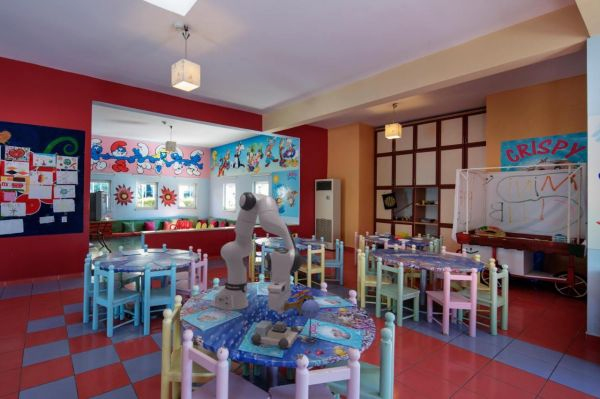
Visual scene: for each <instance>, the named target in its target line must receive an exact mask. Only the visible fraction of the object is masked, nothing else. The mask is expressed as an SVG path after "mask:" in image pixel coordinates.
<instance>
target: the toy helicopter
mask: <svg viewBox="0 0 600 399" xmlns="http://www.w3.org/2000/svg"><path fill="white" fill-rule="evenodd" d="M310 291H311V289H310V288H308V289H305V290H300V291H298V293H296V294H294V295H291V296H292V297H291V298H293V299H294V298H297V297H299V298H298V299H297V300H296V301H292V302H288V301H286V302H285V303H284V308H283V312H288V311H289V310H290V309H291V310H292V309H297V313H298V314H299V316H300V315H301V316H302V315H303V313H302V310H301V308H302V305H303V303H304V302H305V301H307V300H314V301H315V297H314V296H313V295H311V294H309V293H308V292H310Z"/></svg>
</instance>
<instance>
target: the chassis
mask: <svg viewBox="0 0 600 399" xmlns="http://www.w3.org/2000/svg"><path fill="white" fill-rule="evenodd" d="M273 325H274V324H273V322H272V321H271V320H263V319H262V320H261V321H259V323H258V324H257V325H255V327H254V334H253V335H252V336H251V337H250V341H251V343H252V344H253V345H258V344H262V345H263V344H264V345H271V346H276V347H279V348H280V349H282V350H285V349H287V348H288V349H290V348H291V347H292V345H293V344H294V343H295V341H296V340H297V338H298V337H299V335H298V334H299V333H298V332H299V328H298V326H296V325H292V326H290V327H287V326H286V332H285V333H278V332H273Z"/></svg>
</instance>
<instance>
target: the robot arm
mask: <svg viewBox="0 0 600 399" xmlns="http://www.w3.org/2000/svg"><path fill="white" fill-rule="evenodd" d="M238 204H239V207H240V209H239V212H238V215H237V218H236V223H235V225H234V228H233V229H234V230H233V231H234V233H235V240H234V241H229V242H227V243H225V244H224V245H222V247H221V249H220V256H221V258H222V259H223V260H224V261H225V265H226V268H227V281H226V282H224V283H223V286H224V288H222V289H220V291H219V292H217V293H216V295H215V297H214V300H213V301H211V303H210V307H212V308H216V307H217V309H220V308H221V309H220V310H225V311H229V312H230V311H234V310H243V309H245V308H247V307H249V302H248V301H249V300H248V296H247V294H248V293H247V291H248V282H247V281H248V280H247V274H248V273H247V272H248V270H247V267H246V266H245V265H244V260H243V259H244V258H246V257H248V256H250V255H251V254H252V253H253V251H254V244H253V232H254V229H255V226H256V223H257V219H258V222H259V226H260V227H261V229H262V230H264V231H265V232H267V233H269V234H273V235H275V236H278V237H280V238H281V239H282V241H283V243H284V245H285V247H282V246H278V247H274V248H273V250H272V251H271V252H268V253H266V255H265V256H264V257H263V258H264V260H263V261H264V262H263V263H264V265H263V266H264V269H265V270H266V271H267V272H269V273H271V280H270V283H269V285H268V286H267V292H268V296H267V297H268V300H267V302H268V304H267V305H268V308H269V310H270V311H276V312H277V315H282V314H283V313H284V311H283V308H284V303H285V302H288V301H289V299H290V298H292V297H291V296H292V287H291V286H292V285H291V277H292V276H291V273H296V272H298V271H299V270H300V269H301V267H302V266H303V260H302V255H301V253H300V252H299V250H298V248H297V245H296V243H295V240H294V237H293V235H292V232H291V230H290V227H289V224H287V223H285V222H284V221H283V219H282V218H281V216H280V211H279V208H278V201H277V199H276V198H275V197H273V196H271V195H270V196H269V195H267V194H266V195H265V194H262V193H255V192H249V191H246V192H243V193H241V196H240V198H239V203H238Z"/></svg>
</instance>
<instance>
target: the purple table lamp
mask: <svg viewBox="0 0 600 399" xmlns="http://www.w3.org/2000/svg"><path fill="white" fill-rule="evenodd" d="M301 310H302V313H303V314H302V315H303V316H304V317H305V318H306V319H309V330H308V337H309V338H308V339H309V340H310V341H312V319H315V318H317V317H318V315H319V313H320V312H321V307H320V305H319V303H318V302H317V301H316V300H315V299H314V300H307V301H305V302H304V303H303V305H302V308H301Z"/></svg>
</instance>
